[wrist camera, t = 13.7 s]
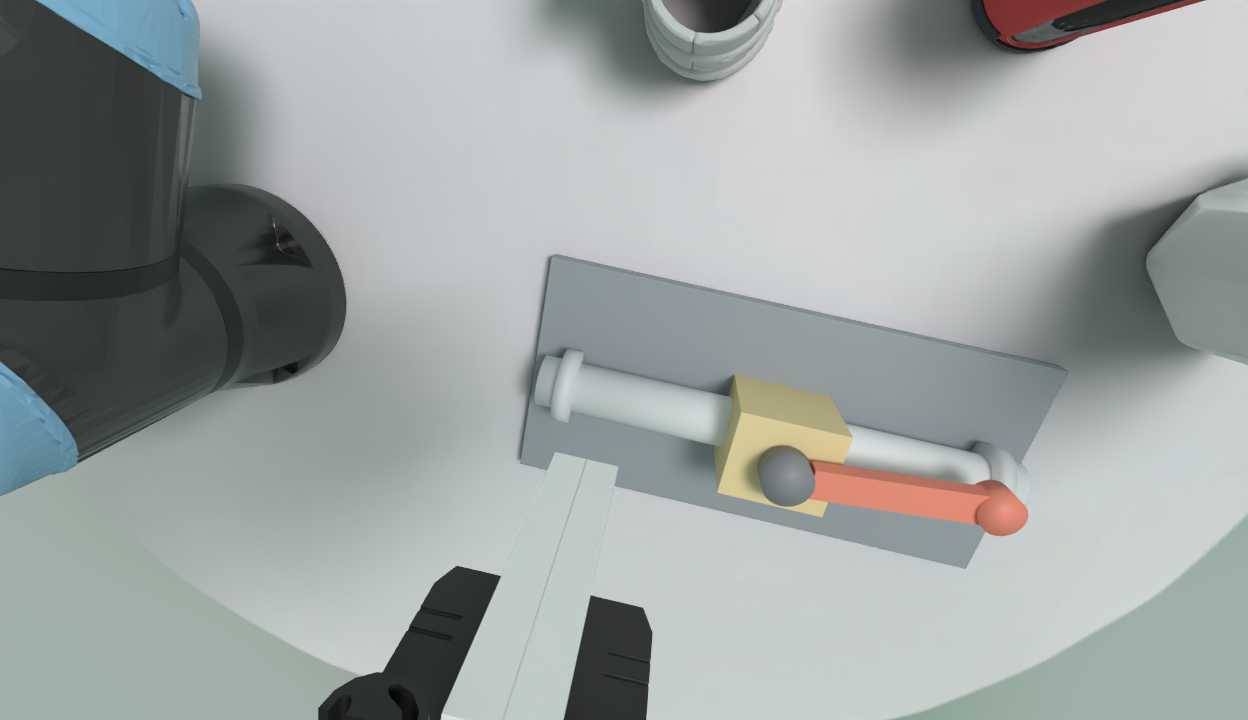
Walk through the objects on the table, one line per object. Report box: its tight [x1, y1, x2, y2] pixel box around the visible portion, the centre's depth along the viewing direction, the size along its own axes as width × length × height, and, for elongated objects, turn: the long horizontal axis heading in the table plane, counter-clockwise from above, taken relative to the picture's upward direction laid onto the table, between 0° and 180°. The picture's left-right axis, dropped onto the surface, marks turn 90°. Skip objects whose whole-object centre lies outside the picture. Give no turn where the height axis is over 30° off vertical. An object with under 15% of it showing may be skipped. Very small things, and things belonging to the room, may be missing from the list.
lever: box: [758, 446, 1028, 536], centre depth 35 cm, size 15×3×2 cm, turn 84°
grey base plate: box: [520, 254, 1068, 569], centre depth 40 cm, size 36×17×8 cm, turn 79°
